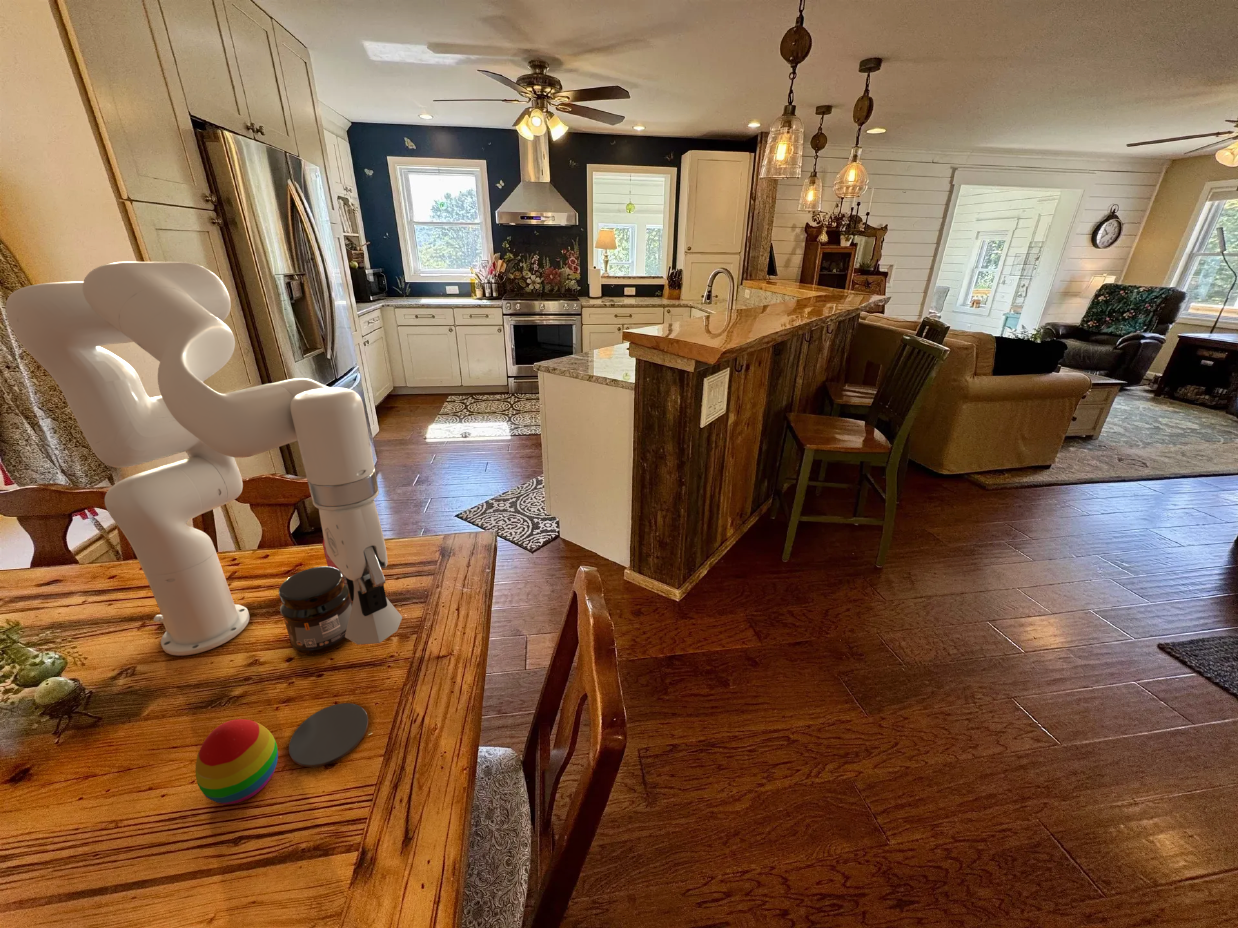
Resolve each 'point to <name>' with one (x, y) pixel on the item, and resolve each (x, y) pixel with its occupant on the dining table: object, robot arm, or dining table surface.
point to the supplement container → (316, 609)
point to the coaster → (328, 735)
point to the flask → (371, 621)
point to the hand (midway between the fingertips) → (369, 602)
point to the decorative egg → (236, 761)
